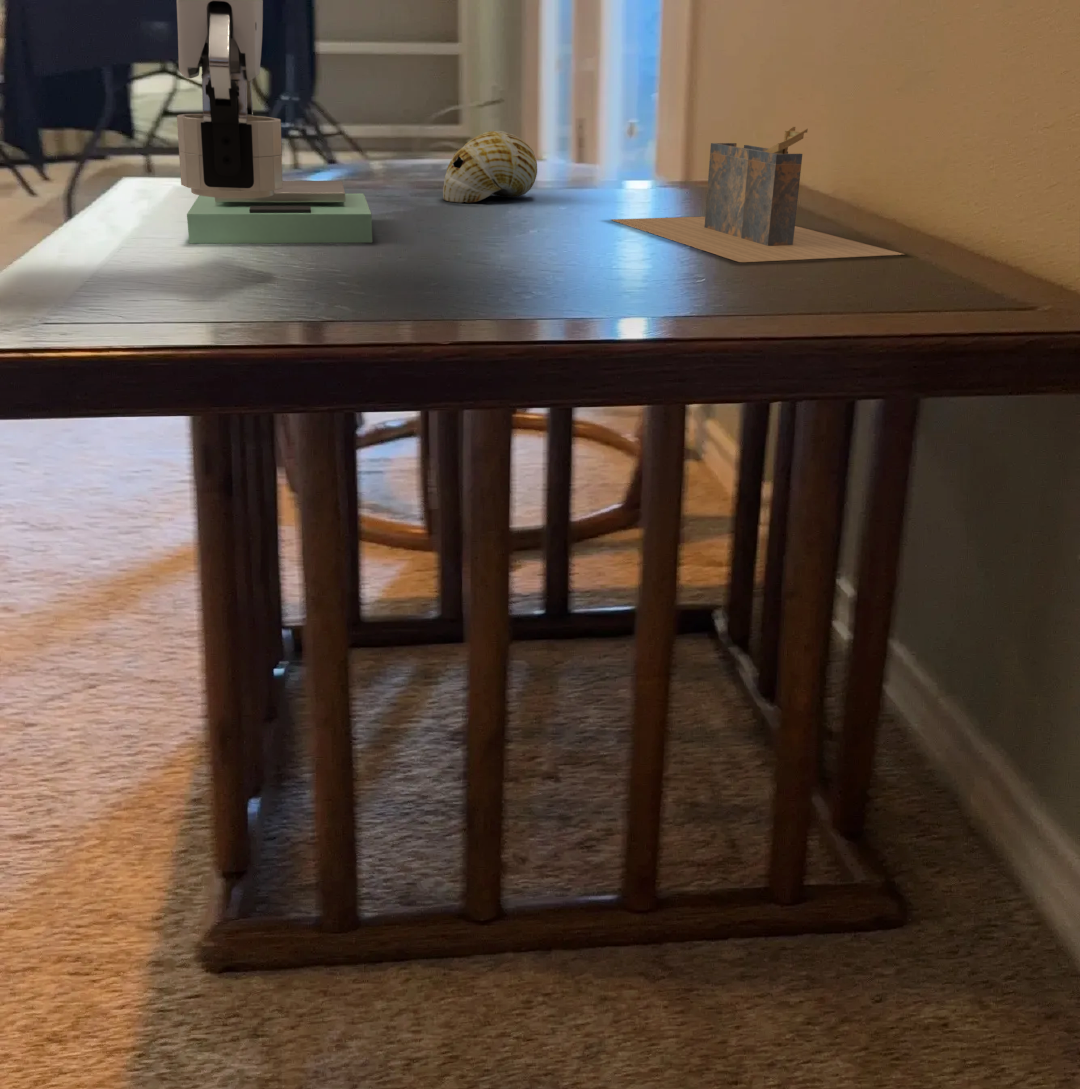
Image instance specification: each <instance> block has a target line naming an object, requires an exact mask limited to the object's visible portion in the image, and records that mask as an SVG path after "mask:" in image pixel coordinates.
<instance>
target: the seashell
mask: <svg viewBox="0 0 1080 1089" xmlns="http://www.w3.org/2000/svg"><path fill="white" fill-rule="evenodd" d="M537 175H538V162H537V158H536V155H535V152H534V150H533V149H532V147H531V146H530V145H529V144H528V143H527V142H526V141H525V140H524V139H522V138H520V137H519V136H517V135H515V134H513V133H510V132H506V130H493V131H491V130H489V131H486V132H483V133H481V134H479V135H476V136H474V137H473V138H471V139H470V140H468V142H466V143H465V144H464V146H463V147H461V148H459V149H458V150H457V151H456V152H455V153H454V154H453V156H452V158H451V159H450V161H449V164H448V165H447V168H446V172H445V174H444V179H443V180H444V182H443V184H442V197H443V200H444V201H446V202H451V203H460V204H461V203H464V202H465V203H467V204H468V203H477V202H481V201H482V200H486V198H488V197H490V196H491V195H493V196H497V197H502V198H516V197H522V196H524V195H526V194H527V193H528V192H529V191H530V190H531V189H532V188H533V186H534V184H535V181H536V179H537Z"/></svg>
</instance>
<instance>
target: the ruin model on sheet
mask: <svg viewBox="0 0 1080 1089" xmlns="http://www.w3.org/2000/svg"><path fill="white" fill-rule="evenodd" d="M796 129H797V128H796V126H792V127H791V128H789V129H788V130H784V133H783V134H784V135H783V141H781V142H779V143H776V144H774V145H773V146H771V147H770V148H769V147H768V148H767V147H762V146H755V145H751V144H744V145H743V147H739V146H738V143H737V142H710V151H709V162H708V177H707V191H706V201H705V202H706V203H705V214H704V215H705V216H679V217H678V216H677V217H647V218H646V217H645V218H644V217H643V218H617V219H616V218H615V219H612V221H613V222H616V223H619V224H621V225H625V226H628V227H631V228H634V229H637V230H640V231H643V232H646V233H649V234H652V235H655V236H658V237H662V238H665V239H667V240H671V241H674V242H676V243H680V244H682V245H685V246H689V247H692V248H695V249H698V250H701V251H704V252H708V253H710V254H714V255H716V256H720V257H721V258H722V257H723V258H725V259H729V260H731V261H735V262H738V263H756V262H757V263H758V262H777V261H780V262H781V261H797V260H798V261H799V260H819V259H821V260H822V259H839V258H860V257H861V258H862V257H881V256H901V255H905V253H903V252H898V251H895V250H890V249H886V248H883V247H879V246H876V245H872V244H868V243H863V242H860V241H856V240H852V239H848V238H844V237H841V236H836V235H832V234H828V233H825V232H821V231H817V230H813V229H809V228H805V227H801V226H797V225H796V220H797V219H796V218H797V210H798V209H797V208H798V202H799V201H798V199H799V191H800V181H801V180H800V179H801V173H802V162H803V153H789V151H788V150H789V147H791V146H793V145H794V144H796V143H798V142H800V141H801V140H803V139H804V134H805V133H807V134H808V132H809V131H808V128H806V129H804V130H802V131H797V130H796Z"/></svg>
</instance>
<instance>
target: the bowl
mask: <svg viewBox="0 0 1080 1089" xmlns="http://www.w3.org/2000/svg"><path fill="white" fill-rule="evenodd" d="M201 122H204V121H203V113H183V114H178V115H176V125H177V139H178V140H177V142H178V157H179V172H180V185H181V186H183V187H185V188H188V189H190V192H191V194H192V195H195V196H199V195H200V196H206V197H217V198H263V197H270V196H273V195H274V190H278V189H282V188H283V181H284V180H283V179H284V177H283V146H282V144H283V143H282V119H281V118H277V117H270V116H261V115H253V116H249V115H247V124H252V144H253V169H254V184H253V186H252V187H251V188H224V187H208V186H207V185H205V183H204V174H203V156H202V138H201Z"/></svg>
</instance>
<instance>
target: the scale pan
mask: <svg viewBox="0 0 1080 1089" xmlns="http://www.w3.org/2000/svg"><path fill="white" fill-rule="evenodd" d="M345 194H346V191H345V187H344V184H343V181H342V180H283V188H282V189H278V190H274V195H273V196H270V197H263V198H217V197H215V202H345Z"/></svg>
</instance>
